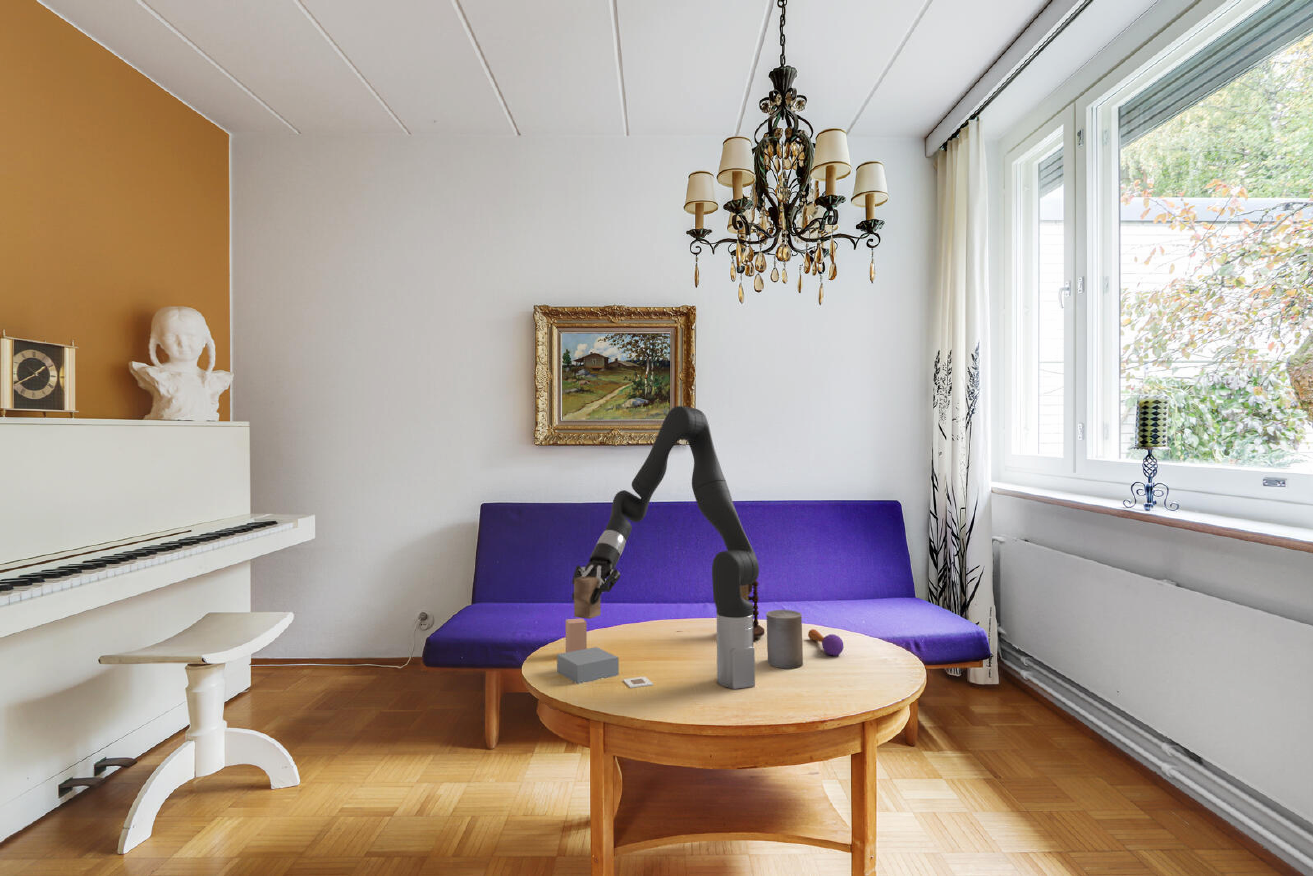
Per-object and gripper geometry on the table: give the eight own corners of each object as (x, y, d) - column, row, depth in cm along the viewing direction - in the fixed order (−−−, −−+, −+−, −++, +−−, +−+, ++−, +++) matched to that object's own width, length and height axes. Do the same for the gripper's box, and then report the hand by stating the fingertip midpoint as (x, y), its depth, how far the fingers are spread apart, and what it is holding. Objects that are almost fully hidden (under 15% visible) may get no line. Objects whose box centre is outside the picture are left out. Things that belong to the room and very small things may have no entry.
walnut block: (600, 614, 173) (600, 577, 173) (589, 618, 169) (589, 580, 169) (585, 612, 175) (585, 575, 176) (574, 616, 171) (574, 578, 171)
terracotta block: (586, 657, 186) (586, 622, 187) (569, 659, 184) (569, 623, 185) (582, 652, 191) (582, 618, 191) (565, 654, 189) (565, 619, 189)
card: (653, 685, 162) (653, 683, 162) (630, 688, 160) (630, 686, 160) (645, 677, 168) (645, 676, 168) (623, 680, 165) (623, 679, 165)
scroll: (713, 641, 202) (712, 576, 203) (723, 629, 216) (722, 569, 217) (760, 645, 197) (759, 579, 198) (767, 633, 211) (766, 571, 212)
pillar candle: (801, 658, 183) (799, 605, 184) (804, 669, 173) (803, 612, 174) (766, 658, 184) (765, 605, 185) (768, 668, 175) (766, 612, 175)
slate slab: (618, 676, 170) (618, 657, 170) (577, 685, 163) (577, 665, 163) (596, 665, 180) (596, 647, 180) (557, 673, 173) (557, 654, 173)
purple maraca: (823, 626, 204) (848, 638, 185) (821, 645, 203) (845, 659, 184) (805, 623, 204) (828, 634, 184) (802, 642, 203) (825, 656, 183)
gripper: (581, 540, 183) (555, 590, 172) (624, 543, 176) (600, 596, 165) (592, 556, 187) (567, 607, 176) (635, 560, 180) (611, 612, 169)
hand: (583, 601), depth 171 cm, fingers closed on walnut block, 5 cm apart
